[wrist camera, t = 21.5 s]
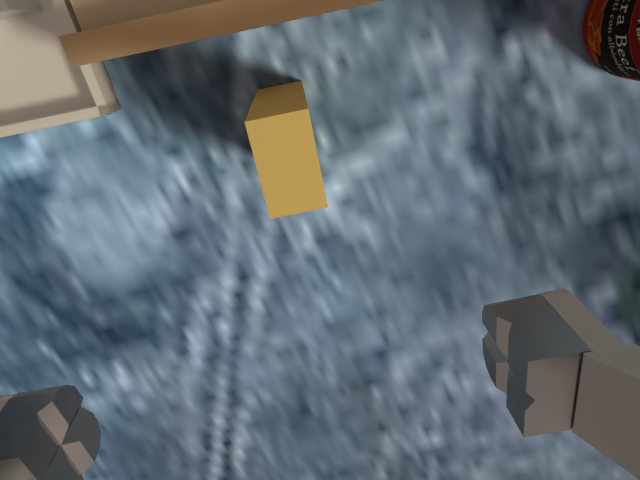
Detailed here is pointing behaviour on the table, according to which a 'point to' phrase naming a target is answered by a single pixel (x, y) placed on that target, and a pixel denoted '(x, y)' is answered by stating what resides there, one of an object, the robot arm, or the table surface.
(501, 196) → the table surface
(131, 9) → the open wooden box
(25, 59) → the tray
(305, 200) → the block
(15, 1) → the grey cubic block
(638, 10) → the canned food
